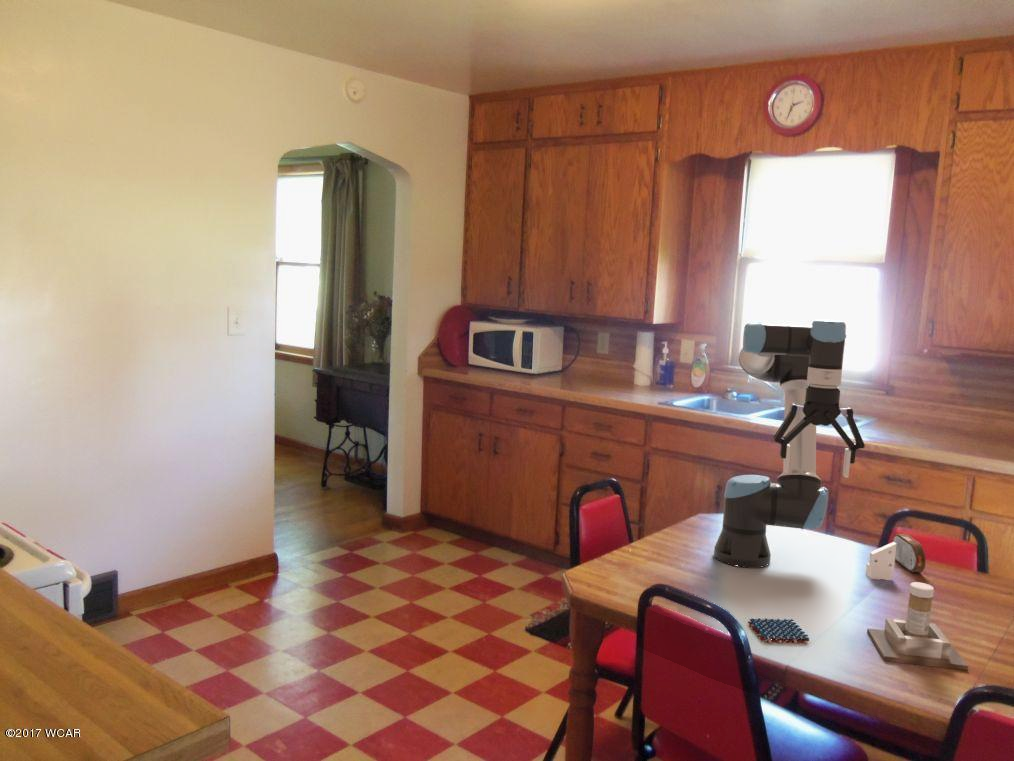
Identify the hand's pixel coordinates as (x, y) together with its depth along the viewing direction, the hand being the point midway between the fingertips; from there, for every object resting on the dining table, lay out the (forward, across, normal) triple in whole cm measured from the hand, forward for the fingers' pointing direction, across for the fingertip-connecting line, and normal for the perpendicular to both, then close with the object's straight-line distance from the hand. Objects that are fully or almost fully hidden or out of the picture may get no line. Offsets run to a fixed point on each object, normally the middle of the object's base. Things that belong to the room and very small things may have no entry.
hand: (815, 474), depth 196 cm
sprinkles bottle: (+31, +19, -22) cm, 42 cm away
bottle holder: (+32, +19, -22) cm, 43 cm away
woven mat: (+32, -9, -21) cm, 40 cm away
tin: (+32, +33, +35) cm, 58 cm away
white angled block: (+32, +23, +24) cm, 46 cm away
